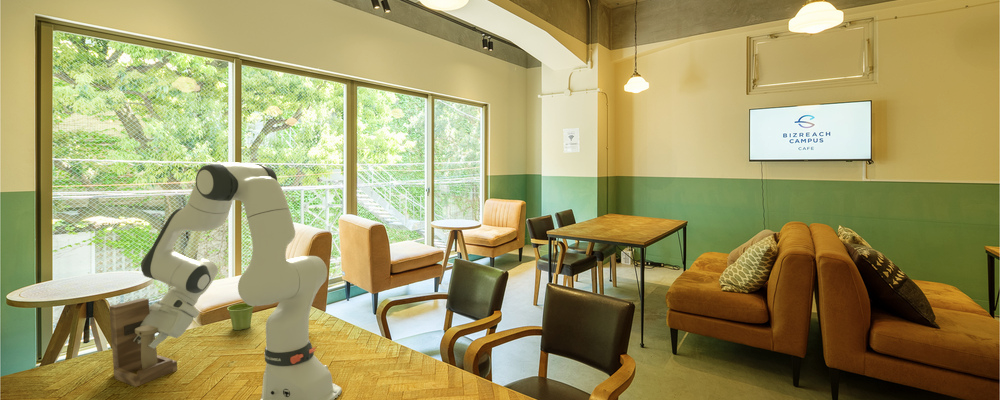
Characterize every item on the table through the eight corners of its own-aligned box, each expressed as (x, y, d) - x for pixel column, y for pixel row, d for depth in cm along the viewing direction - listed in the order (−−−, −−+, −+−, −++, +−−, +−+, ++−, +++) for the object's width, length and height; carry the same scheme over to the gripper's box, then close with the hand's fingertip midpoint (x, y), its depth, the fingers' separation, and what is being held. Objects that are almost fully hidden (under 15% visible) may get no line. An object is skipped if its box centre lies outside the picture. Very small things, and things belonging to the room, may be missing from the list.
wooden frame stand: (177, 370, 138) (173, 303, 136) (135, 386, 128) (130, 314, 126) (151, 361, 144) (147, 296, 142) (109, 376, 133) (104, 307, 131)
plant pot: (237, 322, 178) (237, 302, 178) (260, 323, 178) (259, 303, 177) (222, 331, 169) (221, 310, 168) (246, 332, 169) (245, 310, 168)
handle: (148, 369, 138) (145, 324, 137) (166, 371, 137) (163, 325, 136) (133, 377, 133) (130, 330, 132) (152, 378, 132) (149, 331, 131)
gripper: (149, 295, 143) (115, 334, 135) (187, 304, 135) (153, 346, 127) (165, 304, 148) (133, 343, 140) (203, 314, 140) (171, 355, 132)
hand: (143, 345), depth 133 cm, fingers open, 6 cm apart
